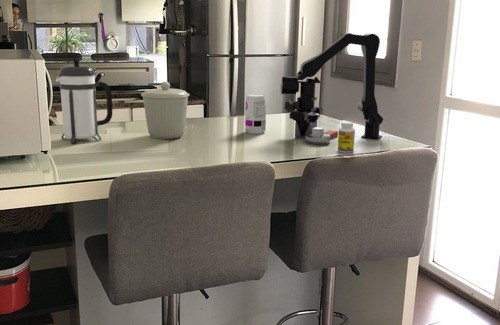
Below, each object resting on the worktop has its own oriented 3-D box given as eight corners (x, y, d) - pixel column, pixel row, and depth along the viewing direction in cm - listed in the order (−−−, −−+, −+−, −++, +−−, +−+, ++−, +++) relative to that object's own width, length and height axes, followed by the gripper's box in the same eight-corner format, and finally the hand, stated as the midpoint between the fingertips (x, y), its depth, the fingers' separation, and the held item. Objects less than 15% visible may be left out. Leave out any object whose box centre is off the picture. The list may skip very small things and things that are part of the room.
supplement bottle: (335, 152, 190) (336, 123, 187) (340, 149, 194) (342, 120, 192) (350, 154, 187) (352, 124, 184) (355, 150, 192) (357, 122, 189)
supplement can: (243, 133, 218) (243, 96, 215) (248, 129, 226) (248, 93, 222) (262, 134, 217) (263, 97, 213) (267, 131, 224) (268, 94, 221)
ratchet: (322, 134, 220) (323, 120, 218) (344, 136, 215) (344, 123, 214) (301, 143, 202) (301, 128, 201) (323, 146, 198) (324, 131, 197)
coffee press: (93, 145, 194) (88, 59, 186) (52, 143, 197) (45, 58, 189) (114, 136, 210) (110, 56, 203) (76, 133, 213) (71, 55, 206)
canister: (132, 138, 207) (130, 82, 201) (161, 130, 222) (160, 78, 217) (171, 143, 199) (170, 85, 193) (199, 135, 214) (198, 81, 209)
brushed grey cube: (301, 134, 218) (302, 119, 217) (316, 136, 215) (317, 121, 213) (294, 137, 213) (295, 122, 211) (309, 139, 210) (310, 124, 208)
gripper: (298, 90, 221) (297, 128, 225) (277, 95, 206) (276, 136, 210) (324, 92, 216) (322, 131, 220) (304, 97, 200) (303, 139, 204)
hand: (305, 134), depth 214 cm, fingers open, 7 cm apart
